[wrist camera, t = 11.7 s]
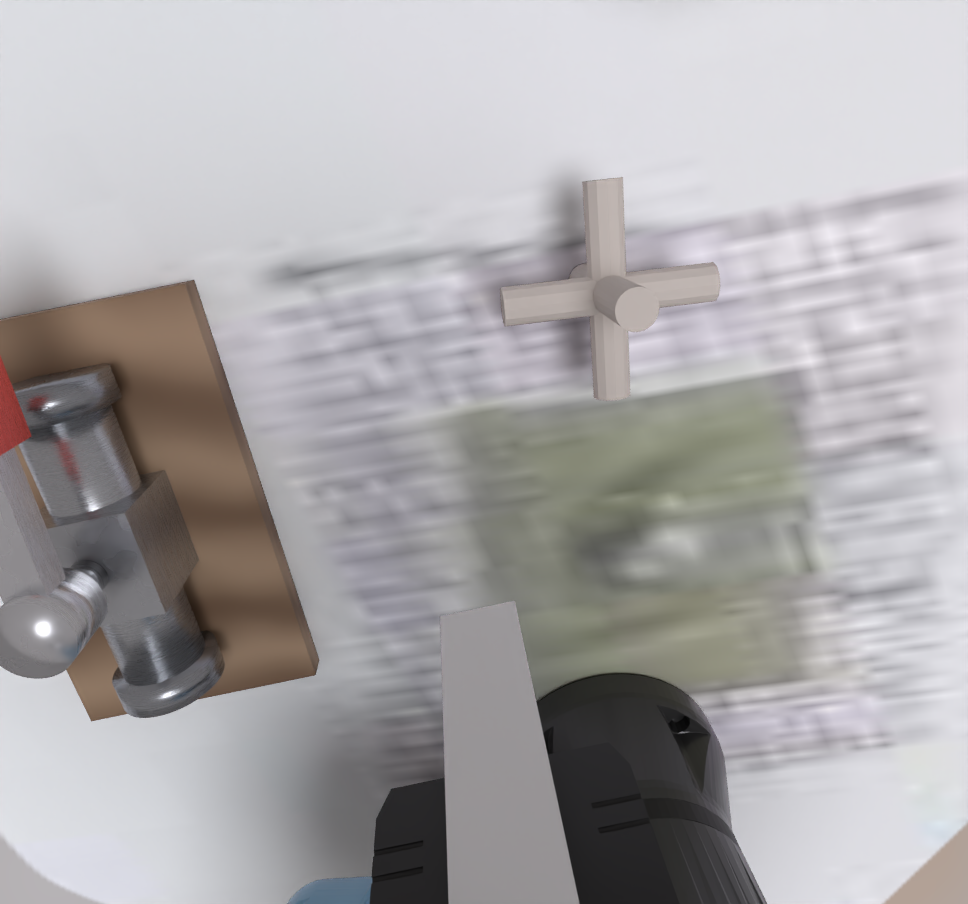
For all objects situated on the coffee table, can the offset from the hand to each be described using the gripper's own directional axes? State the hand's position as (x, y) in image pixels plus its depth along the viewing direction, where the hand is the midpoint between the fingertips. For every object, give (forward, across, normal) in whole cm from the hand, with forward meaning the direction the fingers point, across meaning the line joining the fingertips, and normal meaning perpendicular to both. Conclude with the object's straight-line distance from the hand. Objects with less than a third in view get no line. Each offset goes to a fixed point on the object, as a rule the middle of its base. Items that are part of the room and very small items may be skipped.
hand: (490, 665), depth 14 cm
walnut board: (+26, +19, +5) cm, 33 cm away
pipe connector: (+27, -8, -3) cm, 28 cm away
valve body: (+26, +19, +5) cm, 33 cm away
